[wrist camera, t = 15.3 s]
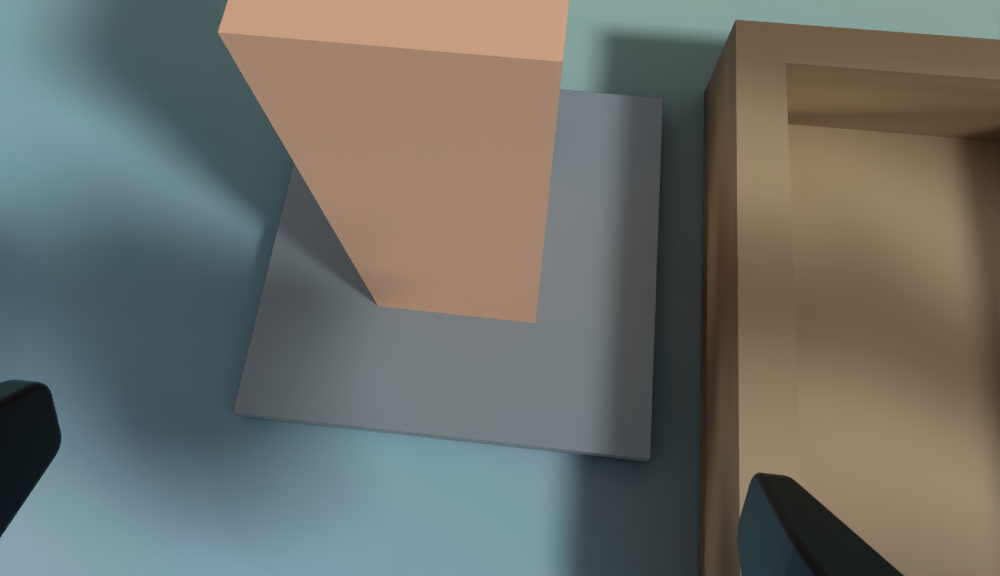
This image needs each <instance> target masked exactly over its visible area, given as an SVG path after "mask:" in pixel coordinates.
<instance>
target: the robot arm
mask: <svg viewBox="0 0 1000 576" xmlns="http://www.w3.org/2000/svg"><path fill="white" fill-rule="evenodd" d="M60 444H61V431H60V427H59V423H58V418H57V414H56V410H55V406H54V402H53V398H52V394H51V391H50V390H49V388H48V387H47V386H46V385H44V384H42V383H40V382H32V381H24V380H8V381H4V382H1V383H0V537H1V536H2V534H3V533H4V531H5V530H6V528H7V527H8V526H9V524H10V523H11V521H12V520H13V518H14V517H15V515H16V514H17V512H18V511H19V509H20V508H21V506H22V505H23V503H24V502H25V500H26V499H27V497H28V496H29V494H30V493H31V491H32V490H33V489H34V487H35V486H36V484H37V483H38V481H39V480H40V478H41V477H42V475H43V474H44V472H45V471H46V469H47V468H48V466H49V465H50V463H51V462H52V460H53V459H54V457H55V456H56V454H57V452H58V450H59V448H60ZM737 546H738V553H739V561H740V569H741V576H904V575H903V574H902V573H901V572H899V571H898V570H897V569H896V568H895V567H894V566H893V565H891V564H890V563H889V562H888V561H887V560H886V559H885V558H883V557H882V556H881V555H880V554H879V553H878V552H877V551H875V550H874V549H873V548H872V547H871V546H870V545H869V544H867V543H866V542H865V541H864V540H863V539H862V538H861V537H859V536H858V535H857V534H856V533H855V532H854V531H853V530H851V529H850V528H849V527H848V526H847V525H846V524H844V523H843V522H842V521H841V520H840V519H839V518H838V517H836V516H835V515H834V514H833V513H832V512H831V511H830V510H828V509H827V508H826V507H825V506H824V505H823V504H822V503H820V502H819V501H818V500H817V499H816V498H815V497H814V496H812V495H811V494H810V493H809V492H808V491H807V490H806V489H804V488H803V487H802V486H801V485H800V484H799V483H798V482H796V481H795V480H794V479H793V478H791V477H789V476H785V475H778V474H770V473H762V472H760V473H757V474H755V475H754V476H753V477H752V479H751V481H750V484H749V487H748V491H747V494H746V498H745V501H744V505H743V508H742V512H741V515H740V519H739V523H738V528H737Z"/></svg>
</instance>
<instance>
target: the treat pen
mask: <svg viewBox="0 0 1000 576" xmlns="http://www.w3.org/2000/svg"><path fill="white" fill-rule="evenodd" d="M760 472H762V473H770V474H778V475H785V476H789V477H791V478H793V479H794V480H795V481H796V482H798V483H799V484H800V485H801V486H802V487H803V488H804V489H806V490H807V491H808V492H809V493H810V494H811V495H812V496H814V497H815V498H816V499H817V500H818V501H819V502H820V503H822V504H823V505H824V506H825V507H826V508H827V509H828V510H830V511H831V512H832V513H833V514H834V515H835V516H836V517H838V518H839V519H840V520H841V521H842V522H843V523H844V524H846V525H847V526H848V527H849V528H850V529H851V530H853V531H854V532H855V533H856V534H857V535H858V536H859V537H861V538H862V539H863V540H864V541H865V542H866V543H867V544H869V545H870V546H871V547H872V548H873V549H874V550H875V551H877V552H878V553H879V554H880V555H881V556H882V557H883V558H885V559H886V560H887V561H888V562H889V563H890V564H891V565H893V566H894V567H895V568H896V569H897V570H898V571H899V572H901V573H902V574H903V575H904V576H1000V40H995V39H982V38H969V37H956V36H942V35H929V34H916V33H903V32H889V31H876V30H863V29H850V28H836V27H823V26H810V25H797V24H784V23H770V22H757V21H744V20H736V21H735V23H734V25H733V28H732V30H731V32H730V34H729V37H728V39H727V41H726V44H725V46H724V48H723V51H722V53H721V55H720V58H719V60H718V62H717V65H716V67H715V69H714V72H713V74H712V76H711V79H710V81H709V83H708V85H707V88H706V90H705V92H704V174H703V264H702V353H701V443H700V533H699V576H741V569H740V561H739V553H738V546H737V528H738V523H739V519H740V515H741V512H742V508H743V505H744V501H745V498H746V494H747V491H748V487H749V484H750V481H751V479H752V477H753V476H754V475H755V474H757V473H760Z"/></svg>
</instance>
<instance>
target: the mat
mask: <svg viewBox="0 0 1000 576" xmlns="http://www.w3.org/2000/svg"><path fill="white" fill-rule="evenodd" d="M662 111H663V98H655V97H643V96H631V95H619V94H607V93H594V92H582V91H570V90H560V93H559V103H558V112H557V122H556V131H555V141H554V150H553V160H552V170H551V179H550V189H549V198H548V208H547V217H546V227H545V236H544V246H543V255H542V265H541V274H540V284H539V293H538V302H537V312H536V321H535V323H529V322H519V321H510V320H501V319H492V318H482V317H473V316H464V315H454V314H445V313H436V312H427V311H417V310H408V309H399V308H390V307H380V306H378V305H377V303H376V302H375V300H374V298H373V297H372V295H371V293H370V291H369V290H368V288H367V286H366V285H365V283H364V281H363V279H362V278H361V276H360V274H359V273H358V271H357V269H356V267H355V266H354V264H353V262H352V261H351V259H350V257H349V256H348V254H347V252H346V250H345V249H344V247H343V245H342V244H341V242H340V240H339V238H338V237H337V235H336V233H335V232H334V230H333V228H332V227H331V225H330V223H329V221H328V220H327V218H326V216H325V215H324V213H323V211H322V209H321V208H320V206H319V204H318V203H317V201H316V199H315V197H314V196H313V194H312V192H311V191H310V189H309V187H308V186H307V184H306V182H305V180H304V179H303V177H302V175H301V174H300V172H299V170H298V168H297V167H296V165H295V163H294V164H293V168H292V172H291V176H290V180H289V184H288V188H287V192H286V197H285V201H284V205H283V209H282V213H281V217H280V221H279V225H278V229H277V233H276V237H275V242H274V246H273V250H272V254H271V258H270V262H269V266H268V270H267V274H266V278H265V282H264V287H263V291H262V295H261V299H260V303H259V307H258V311H257V315H256V319H255V323H254V327H253V332H252V336H251V340H250V344H249V348H248V352H247V356H246V360H245V364H244V368H243V372H242V377H241V381H240V385H239V389H238V393H237V397H236V401H235V405H234V409H233V413H235V414H237V415H240V416H242V417H250V418H259V419H268V420H277V421H286V422H295V423H304V424H313V425H322V426H331V427H340V428H349V429H358V430H367V431H376V432H385V433H394V434H403V435H412V436H421V437H430V438H439V439H448V440H457V441H466V442H475V443H484V444H493V445H502V446H511V447H520V448H529V449H538V450H546V451H555V452H564V453H573V454H582V455H591V456H600V457H609V458H618V459H627V460H636V461H647V460H649V459H650V448H651V420H652V392H653V364H654V336H655V308H656V280H657V252H658V224H659V196H660V168H661V139H662Z"/></svg>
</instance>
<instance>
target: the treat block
mask: <svg viewBox="0 0 1000 576" xmlns="http://www.w3.org/2000/svg"><path fill="white" fill-rule="evenodd" d="M568 7H569V0H228V2H227V5H226V8H225V11H224V14H223V17H222V21H221V24H220V27H219V30H218V34H219V35H220V37H221V39H222V40H223V42H224V44H225V46H226V47H227V49H228V51H229V52H230V54H231V56H232V58H233V59H234V61H235V63H236V64H237V66H238V68H239V69H240V71H241V73H242V75H243V76H244V78H245V80H246V81H247V83H248V85H249V87H250V88H251V90H252V92H253V93H254V95H255V97H256V98H257V100H258V102H259V104H260V105H261V107H262V109H263V110H264V112H265V114H266V116H267V117H268V119H269V121H270V122H271V124H272V126H273V128H274V129H275V131H276V133H277V134H278V136H279V138H280V139H281V141H282V143H283V145H284V146H285V148H286V150H287V151H288V153H289V155H290V157H291V158H292V160H293V162H294V163H295V165H296V167H297V168H298V170H299V172H300V174H301V175H302V177H303V179H304V180H305V182H306V184H307V186H308V187H309V189H310V191H311V192H312V194H313V196H314V197H315V199H316V201H317V203H318V204H319V206H320V208H321V209H322V211H323V213H324V215H325V216H326V218H327V220H328V221H329V223H330V225H331V227H332V228H333V230H334V232H335V233H336V235H337V237H338V238H339V240H340V242H341V244H342V245H343V247H344V249H345V250H346V252H347V254H348V256H349V257H350V259H351V261H352V262H353V264H354V266H355V267H356V269H357V271H358V273H359V274H360V276H361V278H362V279H363V281H364V283H365V285H366V286H367V288H368V290H369V291H370V293H371V295H372V297H373V298H374V300H375V302H376V303H377V305H378V306H380V307H390V308H399V309H408V310H417V311H427V312H436V313H445V314H454V315H464V316H473V317H482V318H492V319H501V320H510V321H519V322H529V323H535V321H536V312H537V302H538V293H539V284H540V274H541V265H542V255H543V246H544V236H545V227H546V217H547V208H548V198H549V189H550V179H551V170H552V160H553V150H554V141H555V131H556V122H557V112H558V103H559V93H560V84H561V74H562V65H563V55H564V46H565V36H566V26H567V17H568Z"/></svg>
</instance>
